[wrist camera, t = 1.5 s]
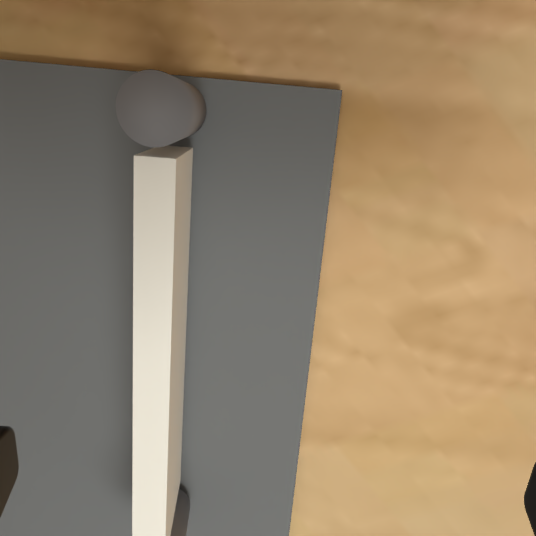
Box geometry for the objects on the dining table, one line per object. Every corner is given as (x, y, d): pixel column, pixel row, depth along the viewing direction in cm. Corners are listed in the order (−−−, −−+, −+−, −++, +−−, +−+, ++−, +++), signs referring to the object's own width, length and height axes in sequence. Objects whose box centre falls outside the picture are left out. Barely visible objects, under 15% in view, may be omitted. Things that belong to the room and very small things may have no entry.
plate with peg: (284, 560, 26) (294, 685, 20) (-184, 545, 25) (-312, 674, 19) (340, 90, 19) (379, 82, 14) (-302, 32, 18) (-557, -4, 12)
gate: (189, 524, 24) (174, 631, 19) (143, 522, 24) (115, 630, 19) (206, 148, 19) (192, 161, 14) (147, 143, 19) (111, 155, 14)
